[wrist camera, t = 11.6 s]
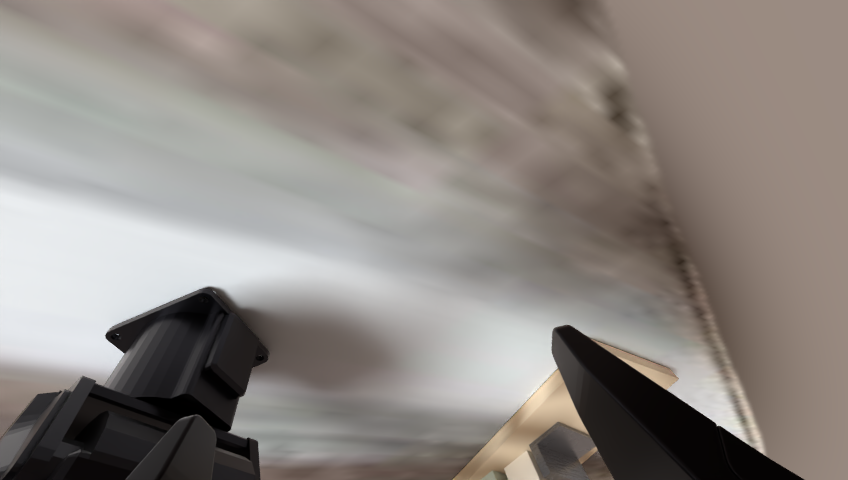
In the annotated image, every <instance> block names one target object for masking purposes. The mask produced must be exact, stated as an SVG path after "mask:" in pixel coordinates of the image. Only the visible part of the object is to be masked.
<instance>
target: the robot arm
mask: <svg viewBox="0 0 848 480" xmlns="http://www.w3.org/2000/svg"><path fill="white" fill-rule="evenodd" d="M202 296H206V297H207V298H208V299H205V298H203V297H202ZM117 334H119V335H117ZM105 336H106V339H107V340H108V341H109V342H111V343H112V344H113V345H114V346H116V347H117V348H118V349H120V350H121V351H122V352H123V353H125V354H124V356H123V357H122V359H121V360H120V362H119V363H118V365H117V366H116V368H115V369H114V371H113V373H112V374H111V376H110V377H109V379H108V380H107V382H106V383H105V385H104V386H102V385H99V384H96V383H95V382H96V381H95V380H93V379H90V378H87V377H85V376H82V377H81V378H80V379H79V380H78V381H77V382H76V383H75V384H74V385H73V386H72V387H71V388H70V389H69V390H66V389H65V390H64V391H61V390H60V391H59V392H54V393H44V394H38V395H37V396H36V397H35V398H34V399H33V400H32V401H31V402H30V403H29V404H28V405H27V407H26V408H25V409H24V410H23V411H22V413H21V414H20V415H19V416H18V417H17V419H16V420H15V421H14V422H13V423H12V425H11V426H10V427H9V428H8V430H7V431H6V432H5V433H4V434H3V436H2V437H1V438H0V480H260V467H259V452H258V441H256V440H254V439H251V438H247V439H245V438H242V437H240V436H237V435H234V434H232V433H229V432H228V431H230V430H231V426H232V423H233V419H234V415H235V412H236V408H237V404H238V401H239V397H242V396H244V394H245V392H246V389H247V385H248V381H249V377H250V373H251V369H252V368H253V367H255V366H258V365H260V364H262V363H265V362H266V361H267V360H268V357H269V351H268V350H267V349H266V348H265V347H264V346H263V344H262V343H261V342H260V341H259V339H258V338H257V337H256V335H255V334H254V333H253V332H252V331H251V330H250V329H249V328H248V327H247V326H246V325H245V323H244V322H243V321H242V320H241V319H240V318H239V317H238V316H237V315H236V314H234V313H233V312H232V311H231V310H230V309H229V308H228V307H227V305H226V304H225V303H224V302H223V301H222V300H221V299H220V298H219V297H218V296H217V295H216V293H215V292H213V291H212V290H210V289H205V288H204V289H200V290H197V291H195V292H193V293H190V294H188V295H186V296H183V297H181V298H179V299H176V300H174V301H172V302H169V303H167V304H164V305H162V306H160V307H157V308H155V309H153V310H150V311H148V312H146V313H143V314H141V315H138V316H136V317H134V318H131V319H129V320H127V321H124V322H122V323H120V324H117V325H115V326H113V327H111V328H110V329H109V330H108V332H107V333H106V335H105ZM552 354H553V357H554V360H555V362H556V364H557V367H558V369H559V371H560V374H561V376H562V378H563V381H564V383H565V385H566V388H567V390H568V392H569V394H570V397H571V399H572V401H573V404H574V406H575V408H576V410H577V413H578V415H579V417H580V419H581V421H582V422H583V424H584V426H585V428H586V430H587V432H588V433H589V435H590V437H591V439H592V440H593V442H594V444H595V446H596V448H597V449H598V451H599V453H600V455H601V456H602V458H603V460H604V462H605V464H606V465H607V467H608V469H609V471H610V473H611V474H612V476H613V478H614V480H804V479H802V478H801V477H799V476H798V475H796V474H794V473H793V472H791V471H789V470H787V469H786V468H784V467H783V466H781V465H779V464H777V463H776V462H774V461H772V460H771V459H769V458H768V457H766V456H765V455H763V454H762V453H760V452H759V451H757V450H756V449H754V448H752V447H751V446H749V445H748V444H746V443H745V442H743V441H742V440H740V439H739V438H737V437H736V436H734V435H733V434H731V433H730V432H728V431H727V430H725V429H724V428H722V427H721V426H717V425H716V423H715V422H713V421H712V420H710V419H709V418H707V417H706V416H704V415H703V414H701V413H700V412H698V411H697V410H695V409H694V408H692V407H691V406H689V405H688V404H686V403H685V402H683V401H682V400H680V399H679V398H678V397H676V396H675V395H673V394H672V393H670V392H669V391H667V390H666V389H664V388H663V387H661V386H660V385H658V384H657V383H655V382H654V381H652V380H651V379H649V378H648V377H646V376H645V375H643V374H642V373H640V372H639V371H637V370H636V369H634V368H633V367H631V366H630V365H629V364H627V363H626V362H624V361H623V360H621V359H620V358H618V357H617V356H615V355H614V354H612V353H611V352H609V351H608V350H606V349H605V348H603V347H602V346H600V345H599V344H597V343H596V342H594V341H593V340H591V339H590V338H588V337H587V336H585V335H584V334H582V333H581V332H580V331H578V330H577V329H575V328H574V327H572V326H570V325H564V326H560V327H556V328H554V329H553V332H552ZM258 355H262V356H258Z"/></svg>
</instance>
